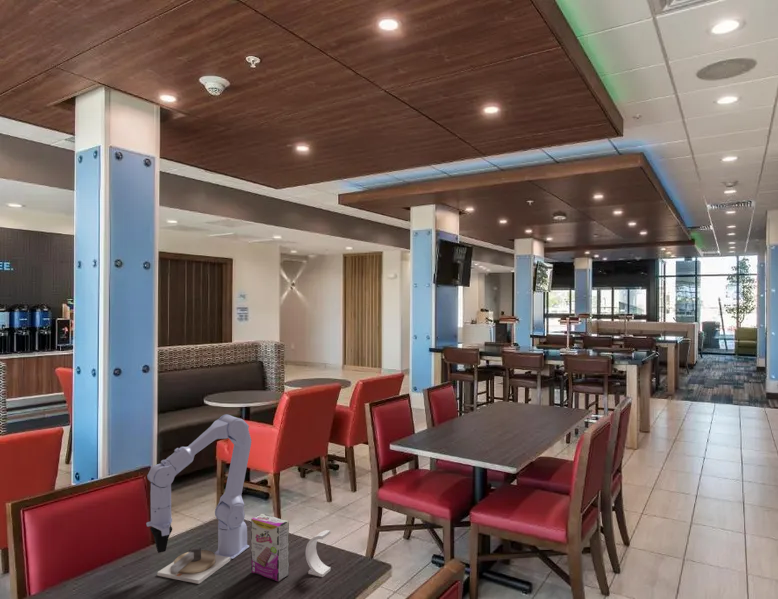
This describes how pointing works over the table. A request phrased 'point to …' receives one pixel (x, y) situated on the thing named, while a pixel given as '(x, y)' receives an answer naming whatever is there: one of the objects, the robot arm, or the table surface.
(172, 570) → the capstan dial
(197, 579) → the base plate
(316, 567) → the headphone stand
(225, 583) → the table surface
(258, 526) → the candy bar box
